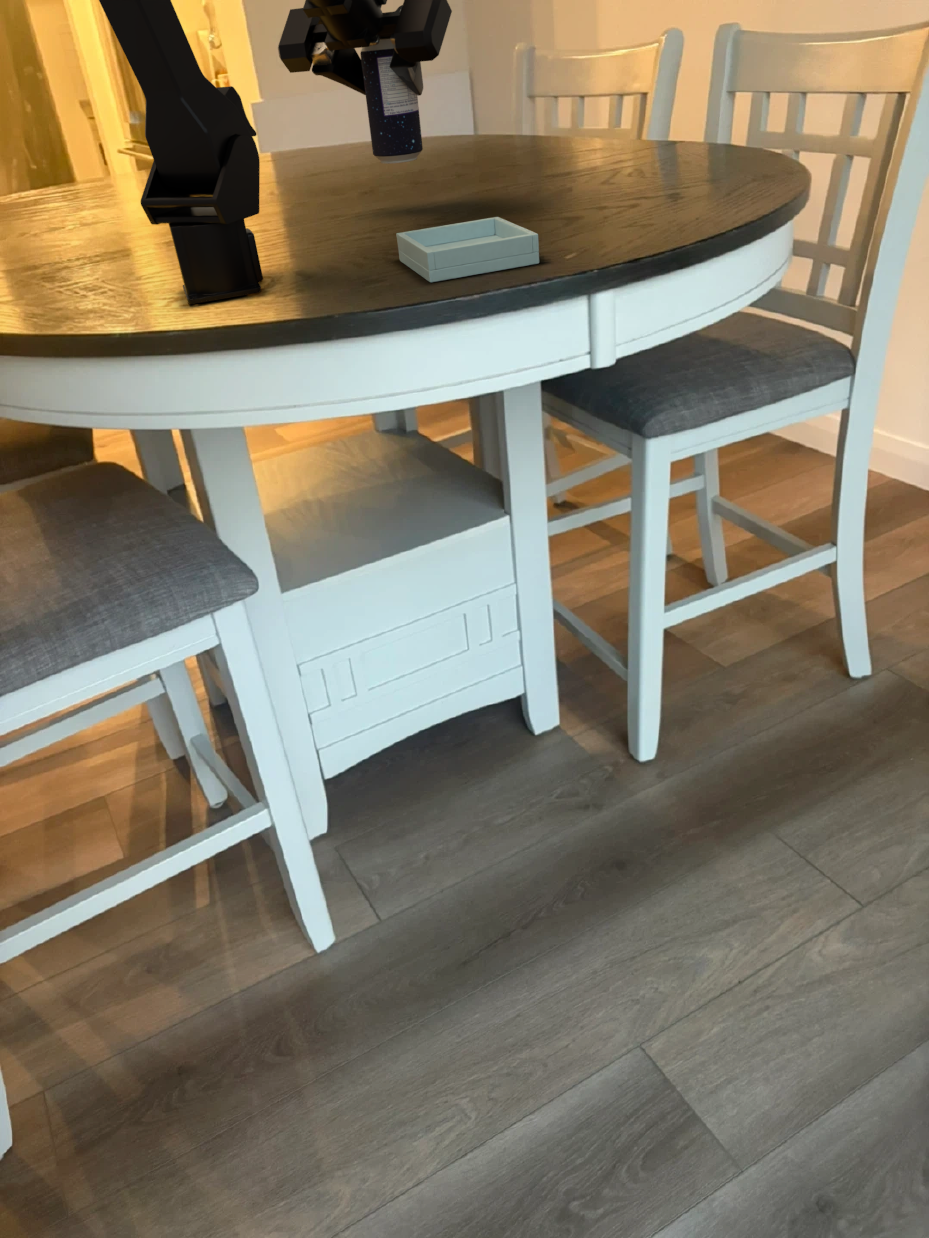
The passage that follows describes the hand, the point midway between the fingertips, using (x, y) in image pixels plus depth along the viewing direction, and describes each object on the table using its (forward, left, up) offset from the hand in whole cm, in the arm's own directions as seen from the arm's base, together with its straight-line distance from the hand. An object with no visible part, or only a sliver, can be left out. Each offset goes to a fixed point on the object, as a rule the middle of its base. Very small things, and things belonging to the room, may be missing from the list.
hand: (398, 93), depth 101 cm
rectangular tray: (-3, -30, -12) cm, 32 cm away
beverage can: (-1, -1, -7) cm, 7 cm away
